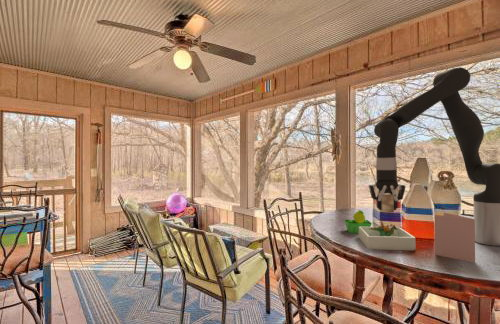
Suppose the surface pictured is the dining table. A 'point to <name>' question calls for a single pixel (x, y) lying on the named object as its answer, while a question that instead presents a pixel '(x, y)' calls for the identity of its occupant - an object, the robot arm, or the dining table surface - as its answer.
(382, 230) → the green branched piece
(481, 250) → the dining table surface
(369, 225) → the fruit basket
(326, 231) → the dining table surface
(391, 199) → the maple cylinder
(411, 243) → the tray
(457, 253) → the greeting card
